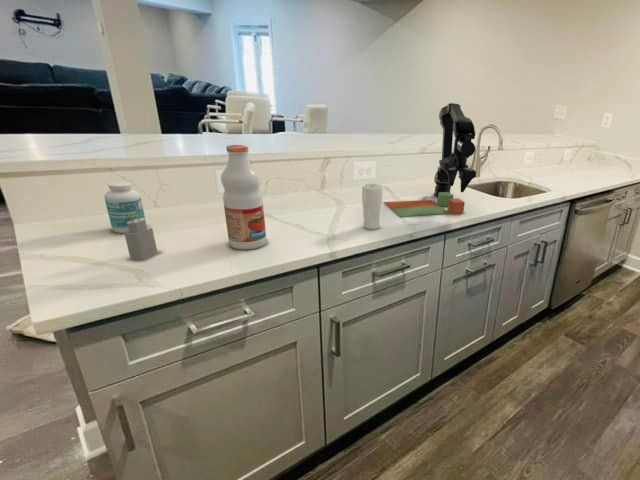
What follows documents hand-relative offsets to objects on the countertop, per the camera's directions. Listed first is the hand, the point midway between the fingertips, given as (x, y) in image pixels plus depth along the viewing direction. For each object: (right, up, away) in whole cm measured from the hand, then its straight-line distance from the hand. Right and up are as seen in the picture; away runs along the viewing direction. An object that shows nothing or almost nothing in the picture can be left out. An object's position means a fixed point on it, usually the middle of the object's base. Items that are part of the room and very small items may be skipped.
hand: (456, 189), depth 160 cm
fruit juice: (-58, -24, -48) cm, 79 cm away
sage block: (-6, -5, +12) cm, 14 cm away
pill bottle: (-91, -20, -50) cm, 106 cm away
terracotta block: (-1, -9, +5) cm, 10 cm away
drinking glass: (-29, -17, -24) cm, 42 cm away
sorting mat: (-17, -8, +2) cm, 19 cm away
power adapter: (-76, -27, -62) cm, 102 cm away
